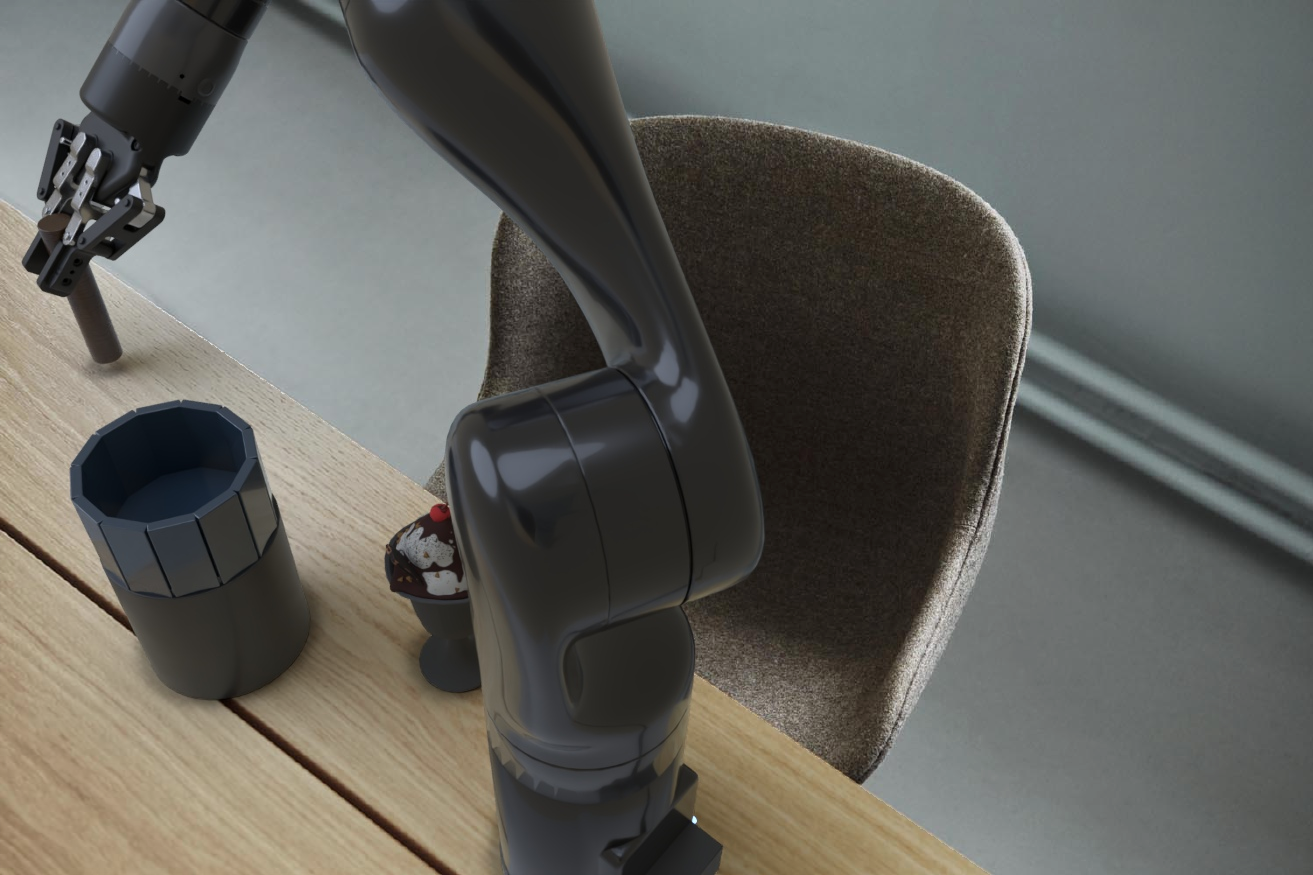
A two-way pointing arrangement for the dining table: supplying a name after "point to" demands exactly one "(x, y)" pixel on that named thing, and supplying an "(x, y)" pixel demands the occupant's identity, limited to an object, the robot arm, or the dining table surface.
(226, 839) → the dining table surface
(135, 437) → the bowl
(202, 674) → the stand
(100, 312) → the stick
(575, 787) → the robot arm
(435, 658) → the sundae
